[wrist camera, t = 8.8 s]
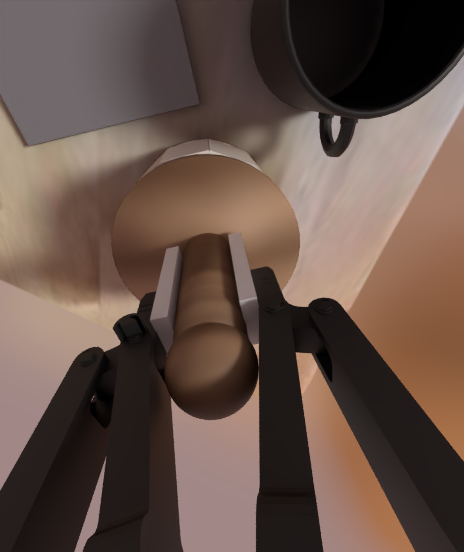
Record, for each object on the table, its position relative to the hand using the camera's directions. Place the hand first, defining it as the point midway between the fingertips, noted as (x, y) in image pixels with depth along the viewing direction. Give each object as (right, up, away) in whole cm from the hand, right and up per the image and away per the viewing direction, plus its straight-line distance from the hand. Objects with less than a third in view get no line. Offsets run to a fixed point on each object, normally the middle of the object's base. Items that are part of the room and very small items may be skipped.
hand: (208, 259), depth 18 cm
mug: (+7, +15, +2) cm, 17 cm away
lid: (0, +1, +1) cm, 2 cm away
